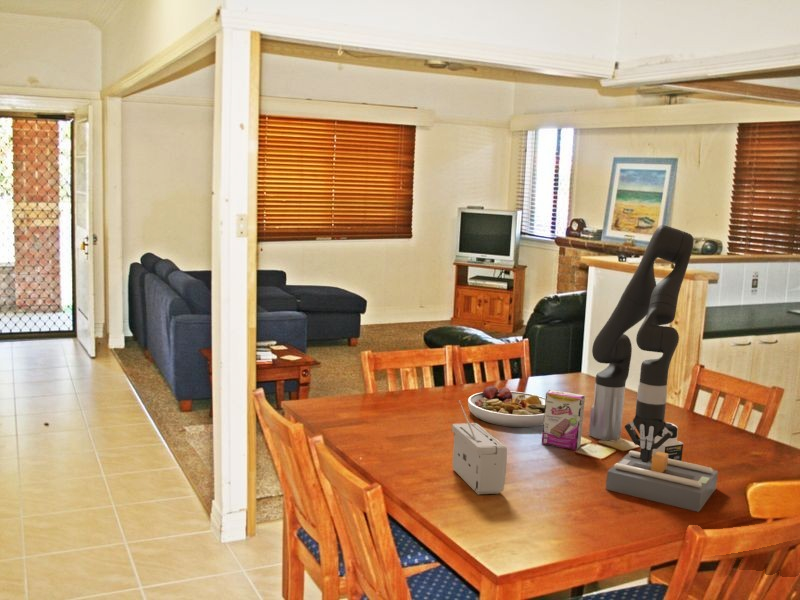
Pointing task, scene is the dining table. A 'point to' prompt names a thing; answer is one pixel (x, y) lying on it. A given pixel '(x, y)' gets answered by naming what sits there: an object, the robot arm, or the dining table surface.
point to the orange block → (659, 462)
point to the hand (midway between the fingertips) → (645, 461)
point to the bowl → (508, 407)
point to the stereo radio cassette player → (479, 458)
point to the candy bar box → (563, 419)
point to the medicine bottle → (670, 444)
